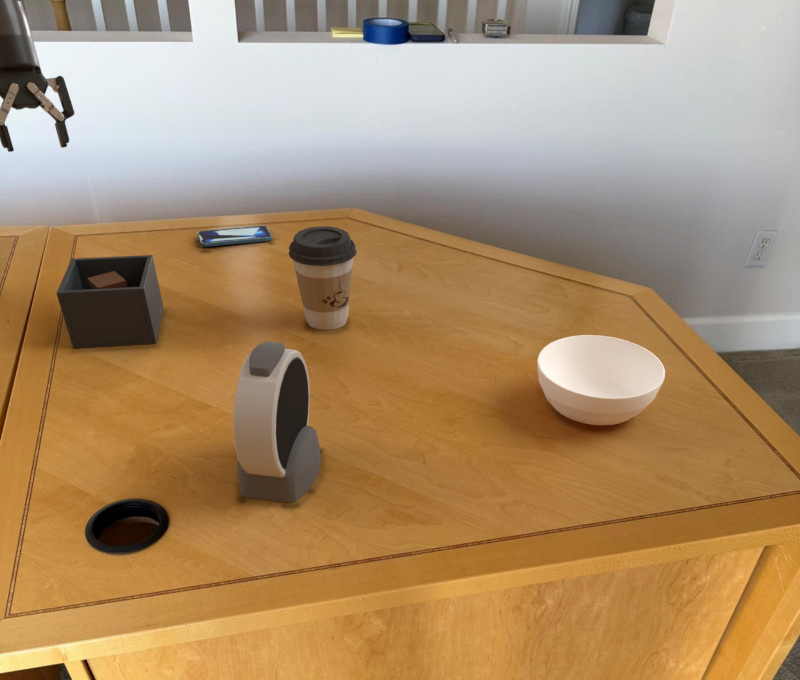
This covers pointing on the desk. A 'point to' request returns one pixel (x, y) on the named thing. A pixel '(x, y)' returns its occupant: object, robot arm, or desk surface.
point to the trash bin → (111, 302)
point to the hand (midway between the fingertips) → (38, 149)
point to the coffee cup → (324, 274)
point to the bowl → (599, 378)
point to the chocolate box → (107, 281)
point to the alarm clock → (274, 425)
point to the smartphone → (234, 235)
